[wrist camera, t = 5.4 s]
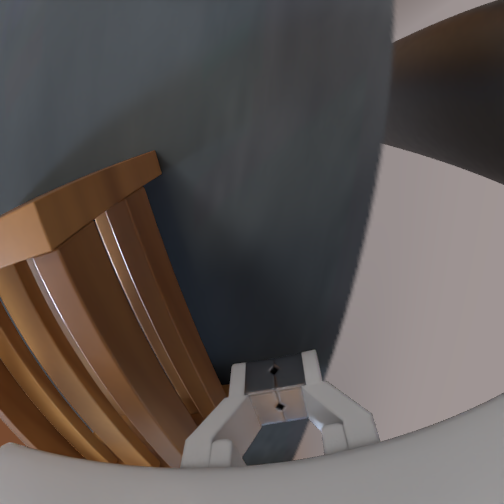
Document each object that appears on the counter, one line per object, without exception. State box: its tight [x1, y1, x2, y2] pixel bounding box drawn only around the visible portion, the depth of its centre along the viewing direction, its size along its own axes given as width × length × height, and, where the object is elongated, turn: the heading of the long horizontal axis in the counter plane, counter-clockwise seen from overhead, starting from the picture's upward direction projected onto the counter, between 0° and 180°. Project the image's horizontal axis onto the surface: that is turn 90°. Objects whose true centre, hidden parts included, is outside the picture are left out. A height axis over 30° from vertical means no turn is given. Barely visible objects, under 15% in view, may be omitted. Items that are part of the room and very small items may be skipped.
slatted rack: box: [0, 150, 230, 468], centre depth 13 cm, size 10×16×9 cm, turn 14°
